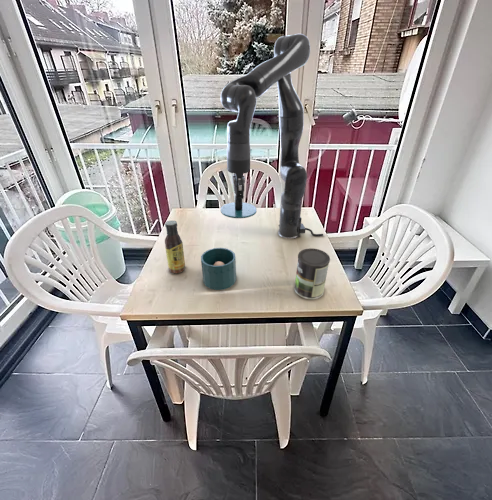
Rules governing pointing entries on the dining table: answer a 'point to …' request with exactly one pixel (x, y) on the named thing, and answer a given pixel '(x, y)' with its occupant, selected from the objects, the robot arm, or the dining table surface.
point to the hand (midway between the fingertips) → (238, 206)
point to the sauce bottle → (174, 248)
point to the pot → (218, 268)
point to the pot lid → (238, 210)
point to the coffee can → (311, 273)
